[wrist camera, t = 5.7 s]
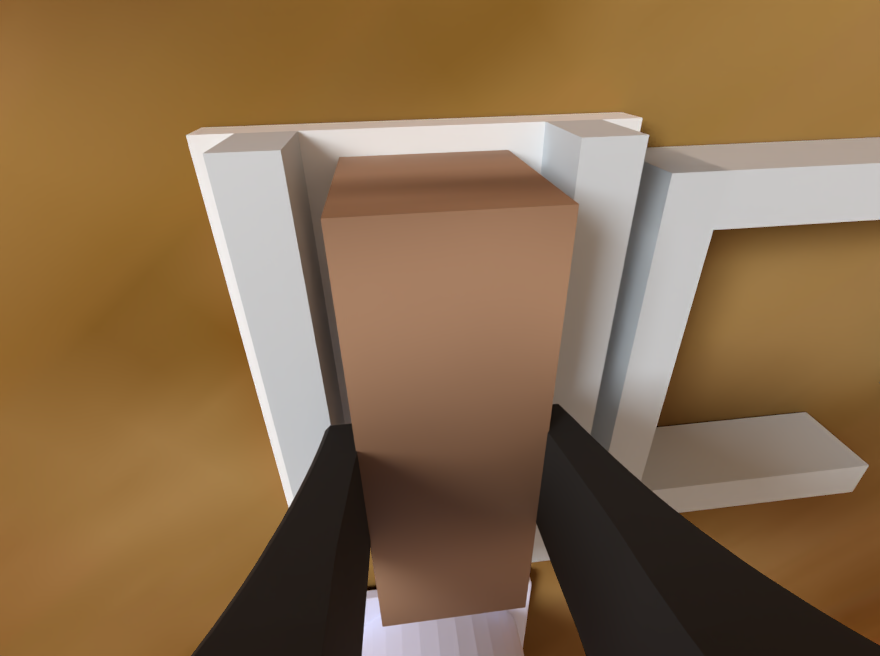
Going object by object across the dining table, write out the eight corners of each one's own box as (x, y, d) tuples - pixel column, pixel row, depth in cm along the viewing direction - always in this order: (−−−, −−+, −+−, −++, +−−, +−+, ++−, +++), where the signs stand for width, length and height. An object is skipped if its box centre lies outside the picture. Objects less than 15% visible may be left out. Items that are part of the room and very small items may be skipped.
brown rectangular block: (339, 157, 10) (320, 219, 6) (508, 150, 10) (578, 204, 7) (380, 492, 15) (382, 627, 11) (490, 480, 15) (525, 607, 12)
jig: (785, 452, 18) (855, 520, 15) (299, 506, 16) (285, 593, 14) (960, 99, 12) (1126, 115, 9) (201, 127, 10) (142, 155, 7)
